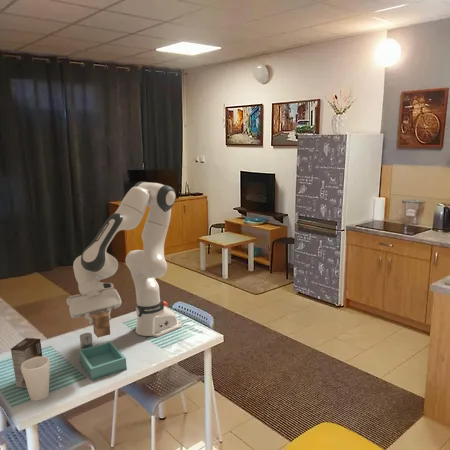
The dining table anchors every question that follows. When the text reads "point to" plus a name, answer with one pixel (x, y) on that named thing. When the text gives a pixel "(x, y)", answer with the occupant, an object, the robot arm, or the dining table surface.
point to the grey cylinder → (86, 340)
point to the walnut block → (101, 324)
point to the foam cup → (37, 377)
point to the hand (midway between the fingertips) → (100, 321)
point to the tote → (102, 360)
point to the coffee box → (24, 357)
